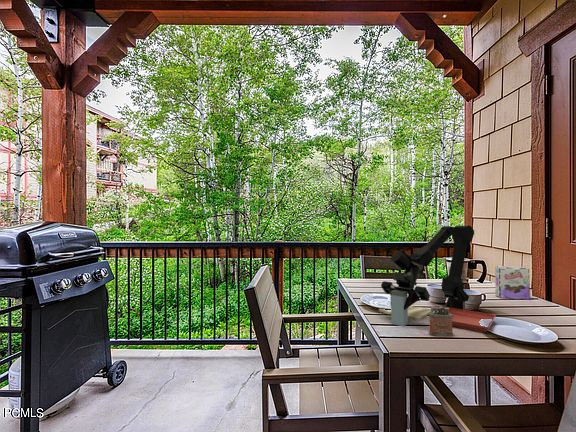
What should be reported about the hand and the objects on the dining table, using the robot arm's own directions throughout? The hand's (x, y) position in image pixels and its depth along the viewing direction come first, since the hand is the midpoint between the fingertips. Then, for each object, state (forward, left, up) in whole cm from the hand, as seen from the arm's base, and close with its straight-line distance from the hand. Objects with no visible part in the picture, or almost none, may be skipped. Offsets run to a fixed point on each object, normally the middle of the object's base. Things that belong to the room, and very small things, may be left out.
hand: (397, 307), depth 122 cm
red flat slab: (-19, -20, -7) cm, 29 cm away
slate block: (0, -1, -7) cm, 7 cm away
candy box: (-25, -81, -7) cm, 85 cm away
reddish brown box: (-16, 0, -7) cm, 17 cm away
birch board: (+5, -18, -7) cm, 20 cm away
